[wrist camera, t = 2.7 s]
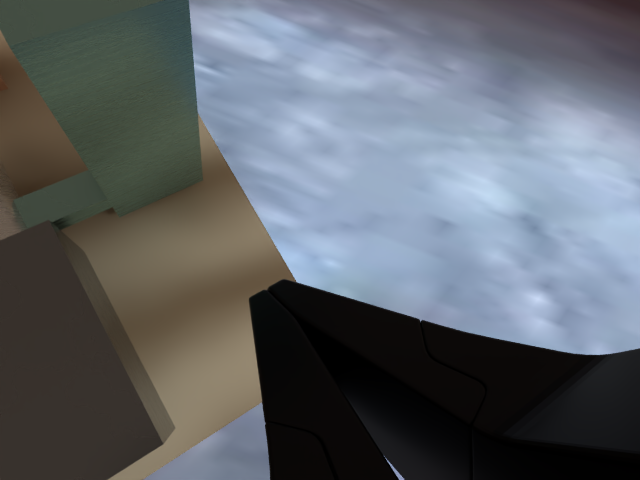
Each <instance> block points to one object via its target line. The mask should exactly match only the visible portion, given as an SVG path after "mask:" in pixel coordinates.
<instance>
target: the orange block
mask: <svg viewBox="0 0 640 480" xmlns="http://www.w3.org/2000/svg"><path fill="white" fill-rule="evenodd" d="M6 89H8V87H7V85H6V83H5V81H4V79H3V78H2V76H1V74H0V91H3V90H6Z"/></svg>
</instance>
